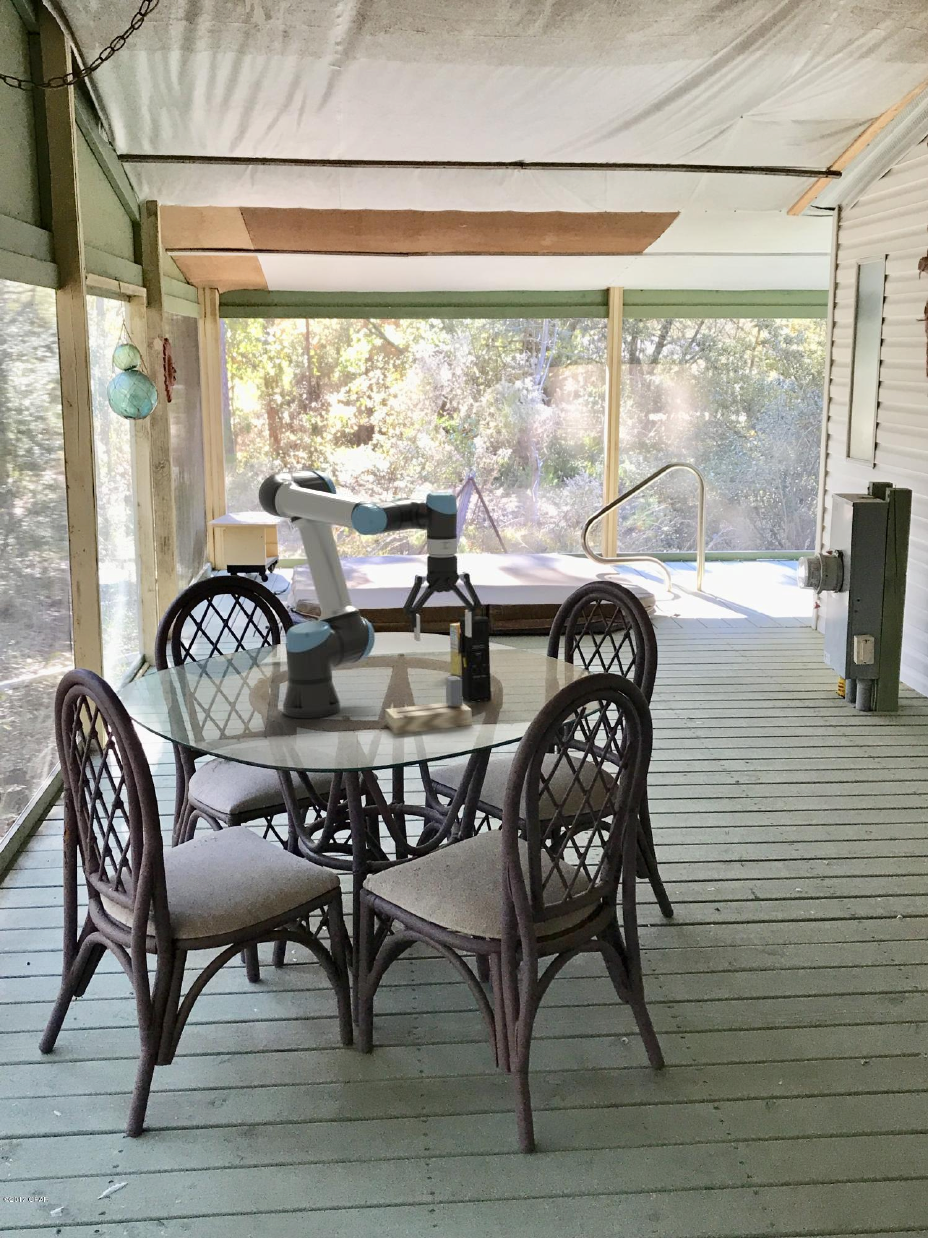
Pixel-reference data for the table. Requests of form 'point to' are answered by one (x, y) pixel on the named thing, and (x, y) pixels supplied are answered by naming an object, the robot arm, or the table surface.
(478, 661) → the portable radio
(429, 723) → the wooden block with slot
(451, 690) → the blue-grey rectangular block
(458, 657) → the candy box
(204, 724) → the table surface
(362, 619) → the robot arm
